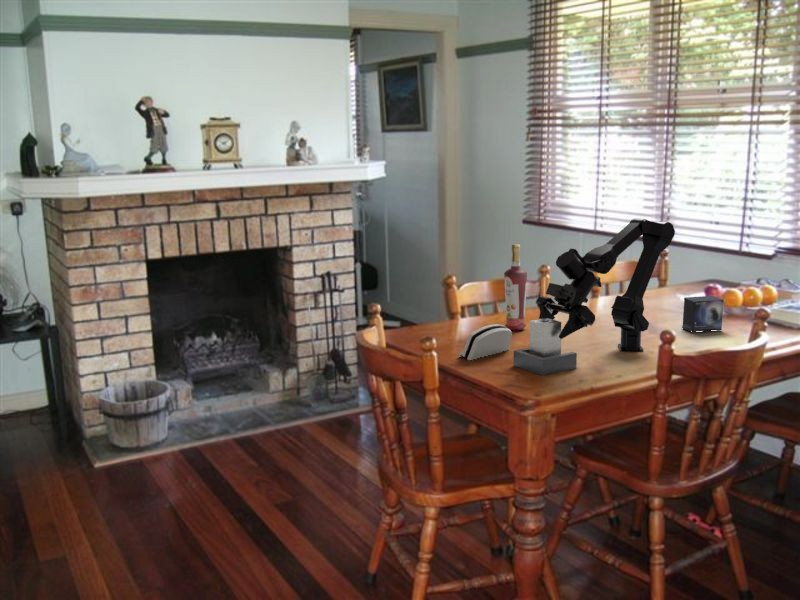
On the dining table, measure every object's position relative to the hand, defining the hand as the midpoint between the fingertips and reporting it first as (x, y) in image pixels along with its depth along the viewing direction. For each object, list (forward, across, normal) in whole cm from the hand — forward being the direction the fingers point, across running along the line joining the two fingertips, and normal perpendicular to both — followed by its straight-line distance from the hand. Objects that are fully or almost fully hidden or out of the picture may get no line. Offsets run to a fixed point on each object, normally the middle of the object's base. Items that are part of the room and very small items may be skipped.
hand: (548, 334), depth 220 cm
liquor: (-8, -39, +21) cm, 45 cm away
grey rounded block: (+11, -20, +2) cm, 22 cm away
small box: (-40, -3, +54) cm, 67 cm away
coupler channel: (+7, 0, +5) cm, 9 cm away
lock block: (+7, 0, +5) cm, 8 cm away
